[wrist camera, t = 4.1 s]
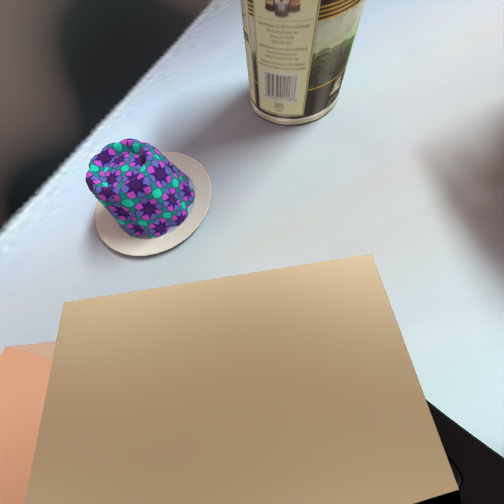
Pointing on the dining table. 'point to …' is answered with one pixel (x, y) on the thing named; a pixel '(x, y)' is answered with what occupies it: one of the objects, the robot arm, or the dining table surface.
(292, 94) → the coffee can
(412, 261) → the dining table surface
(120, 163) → the pudding
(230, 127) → the dining table surface
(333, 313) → the maple block
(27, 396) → the terracotta base
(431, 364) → the dining table surface
